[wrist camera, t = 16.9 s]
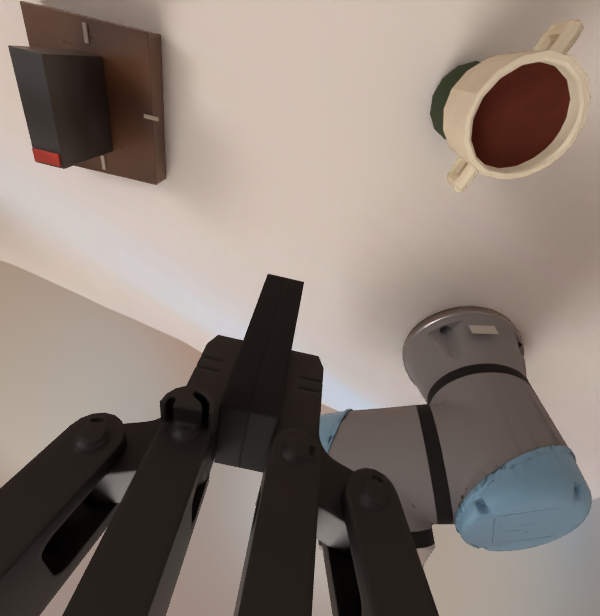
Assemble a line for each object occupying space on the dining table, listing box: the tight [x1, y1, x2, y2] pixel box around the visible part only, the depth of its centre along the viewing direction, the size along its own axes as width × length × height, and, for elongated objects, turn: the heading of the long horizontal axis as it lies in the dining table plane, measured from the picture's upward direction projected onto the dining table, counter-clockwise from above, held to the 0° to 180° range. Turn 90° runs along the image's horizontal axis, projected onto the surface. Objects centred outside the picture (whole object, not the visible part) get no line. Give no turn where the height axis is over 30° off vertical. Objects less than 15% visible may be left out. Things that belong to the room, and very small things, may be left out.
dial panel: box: [20, 1, 166, 185], centre depth 33 cm, size 13×12×3 cm
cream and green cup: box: [430, 20, 591, 191], centre depth 26 cm, size 11×7×13 cm, turn 156°
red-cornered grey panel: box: [8, 45, 113, 169], centre depth 29 cm, size 8×2×8 cm, turn 168°
